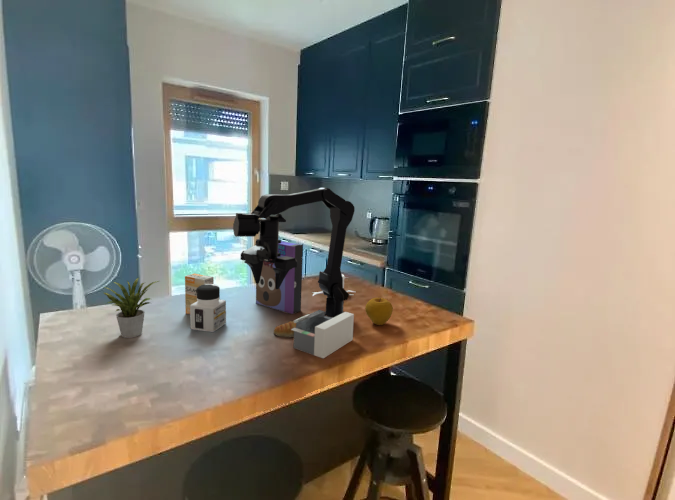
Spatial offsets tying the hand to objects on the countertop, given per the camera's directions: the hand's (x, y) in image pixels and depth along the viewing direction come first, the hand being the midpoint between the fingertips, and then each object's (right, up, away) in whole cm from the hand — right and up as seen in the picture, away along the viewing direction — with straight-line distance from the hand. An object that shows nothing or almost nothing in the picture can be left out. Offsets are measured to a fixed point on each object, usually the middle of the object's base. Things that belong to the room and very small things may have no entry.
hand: (267, 286), depth 116 cm
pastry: (+8, -14, -3) cm, 17 cm away
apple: (+35, -13, +8) cm, 38 cm away
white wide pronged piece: (+20, -7, +40) cm, 45 cm away
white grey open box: (+17, -15, -9) cm, 24 cm away
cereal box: (0, -10, +20) cm, 22 cm away
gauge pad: (+13, -15, -8) cm, 21 cm away
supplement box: (-24, -10, +9) cm, 28 cm away
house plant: (-37, -13, -8) cm, 40 cm away
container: (-18, -13, -1) cm, 22 cm away
